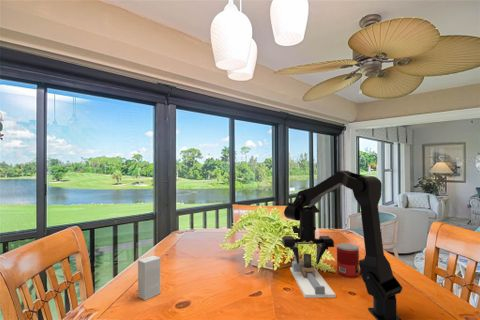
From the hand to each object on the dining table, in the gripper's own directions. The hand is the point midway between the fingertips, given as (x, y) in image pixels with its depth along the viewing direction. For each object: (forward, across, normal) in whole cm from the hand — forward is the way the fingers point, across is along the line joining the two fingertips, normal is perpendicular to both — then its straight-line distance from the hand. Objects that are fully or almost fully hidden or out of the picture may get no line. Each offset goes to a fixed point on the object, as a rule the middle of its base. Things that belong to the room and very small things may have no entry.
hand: (307, 264), depth 100 cm
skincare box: (+6, +56, +12) cm, 58 cm away
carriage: (+4, 0, 0) cm, 4 cm away
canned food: (+6, -17, -4) cm, 18 cm away
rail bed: (+5, 0, +4) cm, 6 cm away
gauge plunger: (0, +2, -5) cm, 5 cm away
